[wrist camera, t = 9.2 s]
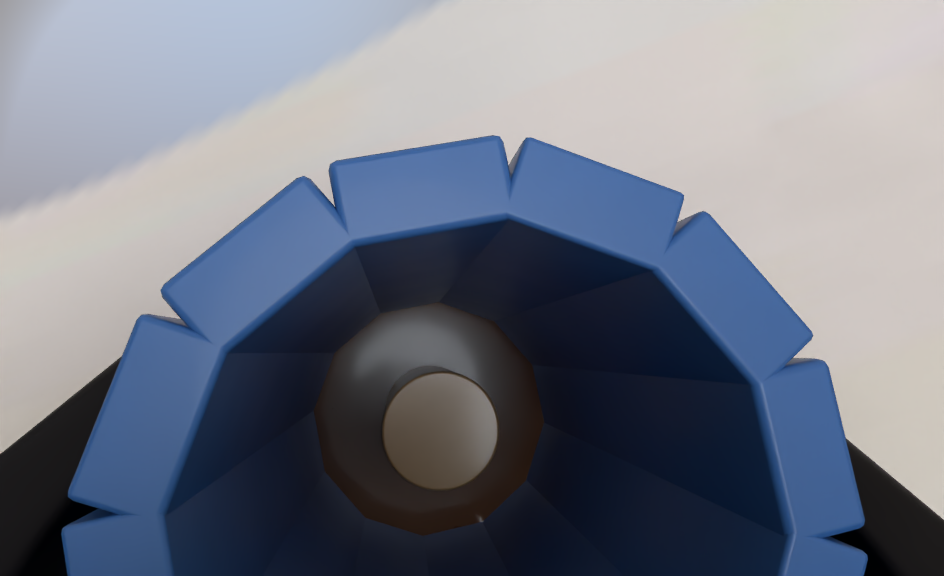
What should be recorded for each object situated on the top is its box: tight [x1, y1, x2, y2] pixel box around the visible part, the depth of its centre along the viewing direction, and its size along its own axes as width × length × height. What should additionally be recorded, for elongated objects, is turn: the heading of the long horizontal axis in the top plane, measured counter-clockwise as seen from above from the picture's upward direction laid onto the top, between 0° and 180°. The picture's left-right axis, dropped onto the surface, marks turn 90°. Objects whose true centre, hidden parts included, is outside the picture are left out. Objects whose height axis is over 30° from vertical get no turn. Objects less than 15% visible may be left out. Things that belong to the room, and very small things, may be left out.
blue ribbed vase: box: [61, 135, 868, 576], centre depth 11 cm, size 7×7×10 cm
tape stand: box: [314, 302, 544, 536], centre depth 15 cm, size 8×8×6 cm
